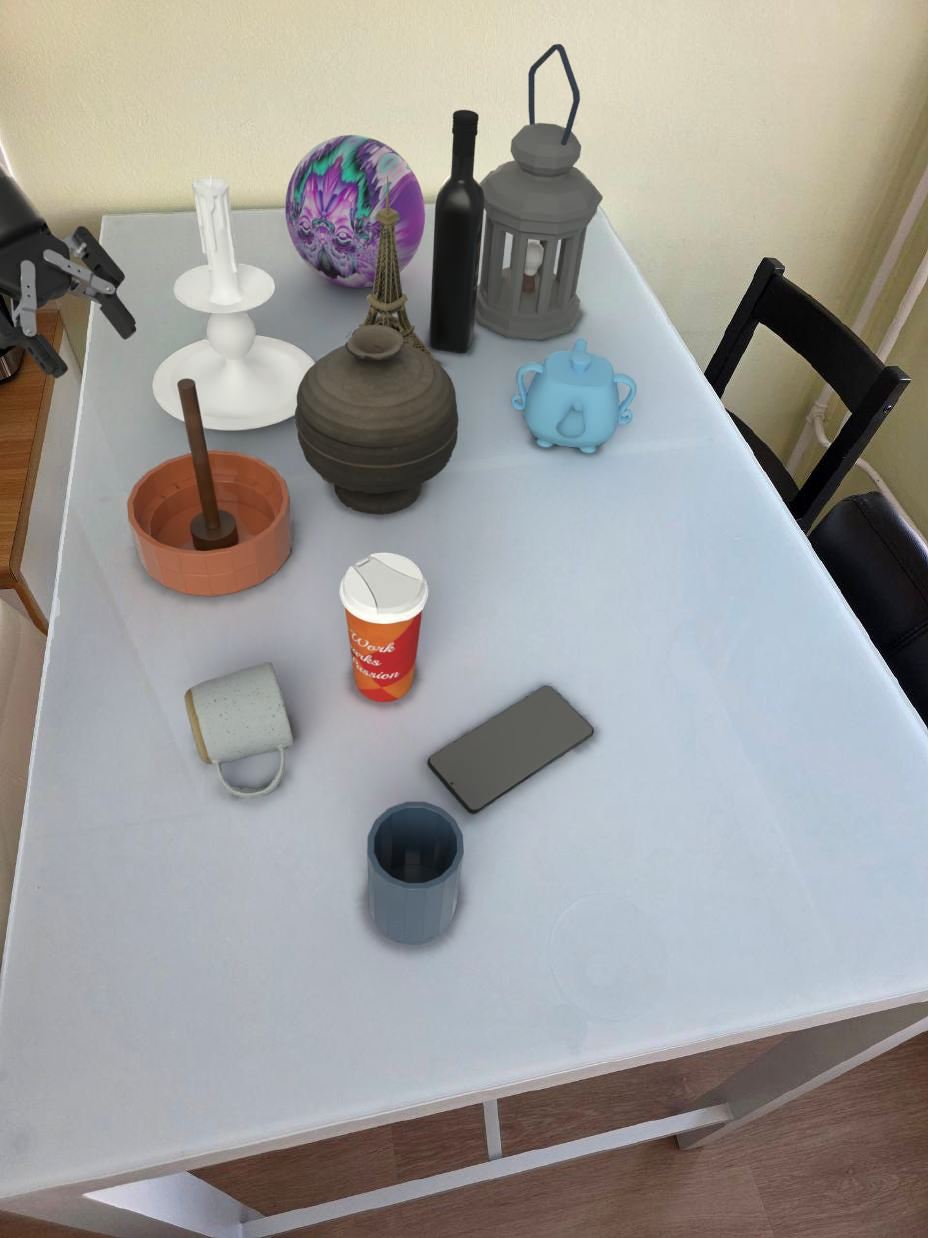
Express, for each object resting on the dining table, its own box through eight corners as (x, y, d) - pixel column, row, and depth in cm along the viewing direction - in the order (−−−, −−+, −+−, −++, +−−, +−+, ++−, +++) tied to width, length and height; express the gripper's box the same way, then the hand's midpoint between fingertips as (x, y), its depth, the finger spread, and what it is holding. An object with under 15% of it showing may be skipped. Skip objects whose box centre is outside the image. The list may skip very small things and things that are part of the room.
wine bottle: (474, 334, 131) (493, 108, 108) (467, 355, 127) (485, 126, 104) (435, 327, 131) (446, 101, 108) (427, 349, 127) (437, 119, 105)
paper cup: (328, 675, 88) (320, 575, 78) (389, 636, 92) (389, 536, 82) (379, 726, 85) (378, 628, 74) (440, 684, 89) (448, 585, 78)
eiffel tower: (386, 333, 129) (387, 149, 110) (441, 364, 125) (451, 178, 106) (331, 362, 124) (322, 173, 105) (387, 396, 119) (388, 205, 101)
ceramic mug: (189, 718, 84) (175, 668, 78) (277, 694, 86) (270, 644, 81) (214, 816, 78) (201, 769, 72) (307, 788, 80) (302, 740, 74)
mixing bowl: (247, 618, 93) (240, 573, 88) (109, 572, 95) (94, 526, 91) (317, 519, 103) (314, 474, 98) (191, 480, 106) (181, 435, 101)
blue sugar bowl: (576, 396, 123) (587, 319, 115) (646, 450, 115) (663, 372, 107) (500, 424, 118) (505, 345, 110) (567, 483, 110) (579, 403, 102)
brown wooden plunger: (246, 544, 99) (222, 387, 84) (207, 562, 96) (174, 404, 82) (224, 519, 101) (197, 362, 86) (185, 536, 99) (149, 378, 84)
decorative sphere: (265, 291, 134) (251, 150, 119) (329, 236, 147) (323, 101, 132) (388, 326, 130) (389, 184, 115) (443, 266, 143) (450, 131, 128)
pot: (301, 544, 99) (292, 378, 85) (296, 453, 112) (287, 295, 98) (463, 538, 102) (479, 376, 88) (440, 449, 115) (451, 296, 101)
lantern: (446, 302, 136) (461, 35, 110) (525, 270, 144) (556, 14, 118) (525, 353, 128) (561, 78, 102) (604, 316, 136) (656, 52, 110)
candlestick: (298, 331, 128) (282, 117, 107) (337, 437, 113) (326, 213, 92) (147, 347, 123) (98, 127, 102) (165, 461, 108) (113, 229, 87)
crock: (437, 958, 71) (443, 903, 63) (354, 926, 72) (351, 869, 65) (467, 879, 75) (476, 820, 68) (389, 850, 77) (390, 789, 69)
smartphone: (597, 730, 85) (472, 813, 78) (595, 735, 86) (471, 819, 79) (548, 682, 88) (424, 758, 82) (546, 687, 89) (424, 763, 82)
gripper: (-85, 205, 75) (51, 373, 80) (52, 151, 84) (167, 307, 89) (-101, 247, 81) (26, 402, 86) (28, 193, 89) (138, 337, 94)
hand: (98, 353), depth 87 cm, fingers open, 8 cm apart
